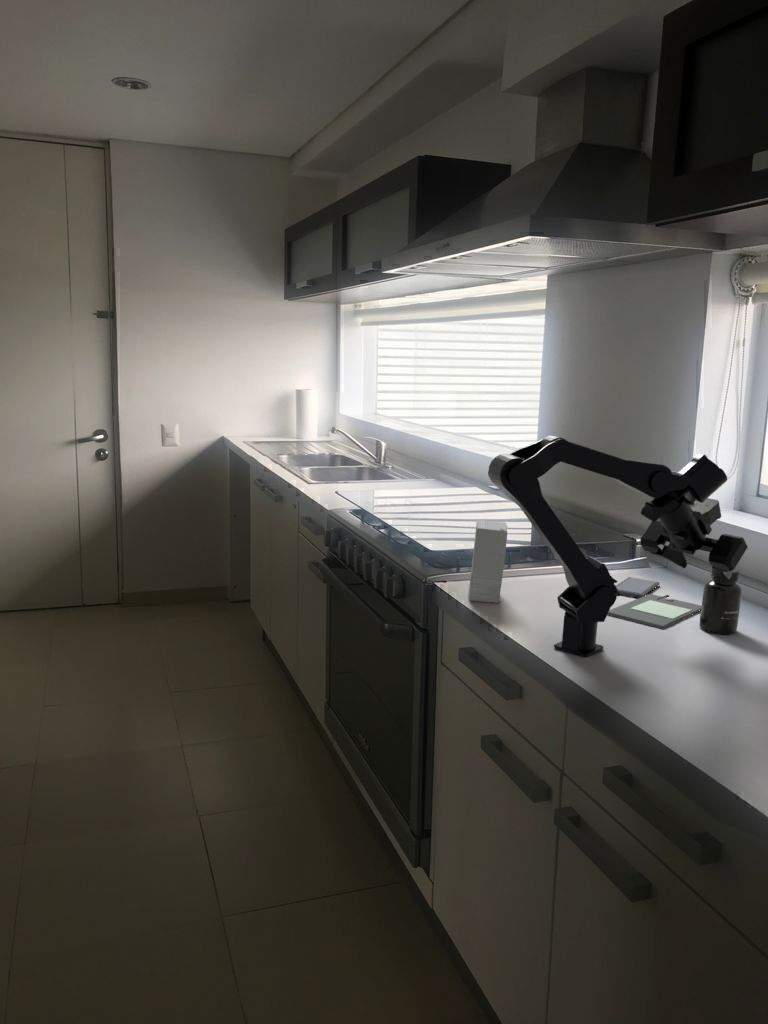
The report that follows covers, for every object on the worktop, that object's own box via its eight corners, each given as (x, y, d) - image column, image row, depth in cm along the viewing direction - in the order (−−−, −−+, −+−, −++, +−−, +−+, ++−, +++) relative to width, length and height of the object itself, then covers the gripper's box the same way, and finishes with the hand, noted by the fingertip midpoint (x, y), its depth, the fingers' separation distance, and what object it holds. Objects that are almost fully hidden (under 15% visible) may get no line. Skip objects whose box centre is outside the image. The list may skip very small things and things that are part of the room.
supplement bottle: (731, 638, 160) (738, 575, 158) (694, 630, 164) (701, 569, 162) (741, 629, 166) (748, 569, 163) (705, 622, 170) (712, 563, 167)
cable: (654, 604, 181) (654, 601, 181) (614, 594, 187) (614, 591, 187) (669, 598, 186) (669, 594, 186) (630, 589, 192) (630, 585, 192)
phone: (641, 598, 184) (642, 594, 184) (609, 593, 188) (610, 589, 188) (659, 585, 196) (659, 581, 196) (628, 580, 200) (629, 576, 200)
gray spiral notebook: (662, 628, 164) (663, 624, 164) (605, 614, 172) (606, 609, 172) (704, 609, 179) (704, 604, 178) (650, 596, 187) (650, 592, 186)
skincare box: (468, 590, 185) (473, 518, 182) (501, 593, 184) (506, 520, 181) (468, 601, 177) (472, 526, 174) (503, 604, 176) (508, 528, 173)
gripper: (748, 492, 146) (775, 549, 154) (655, 477, 160) (684, 529, 169) (716, 542, 142) (745, 597, 151) (624, 522, 157) (656, 573, 165)
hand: (706, 571), depth 159 cm, fingers open, 9 cm apart
